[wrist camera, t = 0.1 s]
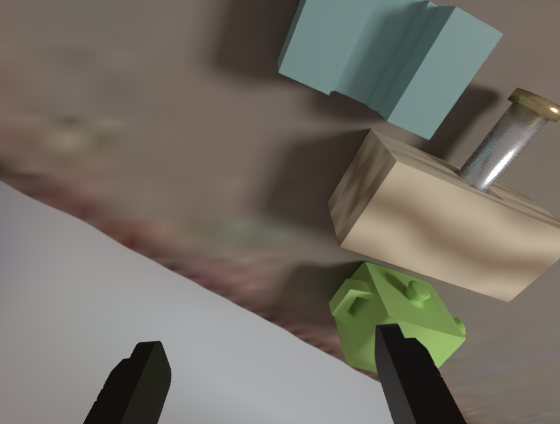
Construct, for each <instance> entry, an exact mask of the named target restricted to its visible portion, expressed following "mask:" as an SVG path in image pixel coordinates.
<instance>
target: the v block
mask: <svg viewBox="0 0 560 424" xmlns="http://www.w3.org/2000/svg"><path fill="white" fill-rule="evenodd" d="M502 35H503V33H501V32H499V31H497V30H496V29H494V28H492V27H491V26H489V25H487V24H485V23H484V22H482V21H480V20H478V19H477V18H475V17H473V16H472V15H470V14H468V13H466V12H465V11H463V10H461V9H460V8H458V7H456V6H438V5H436V4H434V3H432V2H431V1H423V0H300V2H299V5H298V7H297V10H296V13H295V15H294V18H293V20H292V23H291V26H290V28H289V31H288V34H287V36H286V39H285V42H284V44H283V47H282V50H281V52H280V55H279V58H278V60H277V63H278V73H281V74H283V75H285V76H287V77H289V78H292V79H294V80H296V81H298V82H301V83H303V84H305V85H307V86H310V87H312V88H314V89H316V90H318V91H321V92H323V93H325V94H327V95H329V94H330V92H331V91H334V90H335V91H337V92H339V93H341V94H344V95H346V96H348V97H350V98H352V99H355V100H357V101H359V102H361V103H363V104H366V105H367V106H368V107H369V108H370V109H373V110H375V111H377V112H378V113H379V114H380V115H381V116H382V117H383V118H384V119H385V120H386V121H388V122H390V123H392V124H394V125H397V126H399V127H401V128H403V129H406V130H408V131H410V132H412V133H414V134H417V135H419V136H421V137H423V138H426V139H428V140H430V138H431V137H432V136H433V134H434V133H435V131H436V130H437V128H438V127H439V126H440V124H441V123H442V121H443V120H444V118H445V117H446V116H447V114H448V113H449V111H450V110H451V108H452V107H453V106H454V104H455V103H456V101H457V100H458V98H459V97H460V96H461V94H462V93H463V91H464V90H465V88H466V87H467V86H468V84H469V83H470V81H471V80H472V78H473V77H474V76H475V74H476V73H477V71H478V70H479V68H480V67H481V66H482V64H483V63H484V61H485V60H486V58H487V57H488V55H489V54H490V53H491V51H492V50H493V48H494V47H495V45H496V44H497V43H498V41H499V40H500V38H501V37H502Z"/></svg>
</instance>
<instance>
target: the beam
mask: <svg viewBox="0 0 560 424" xmlns="http://www.w3.org/2000/svg"><path fill="white" fill-rule="evenodd" d="M460 169H461V168H460V167H458V166H456V165H454V164H451V163H449V162H447V161H444V160H442V159H440V158H438V157H435V156H433V155H431V154H428V153H426V152H424V151H421V150H419V149H417V148H415V147H412V146H410V145H408V144H405V143H403V142H401V141H399V140H396V139H394V138H392V137H389V136H387V135H385V134H382V133H380V132H378V131H376V130H373V129H370V131H369V133H368V134H367V136H366V138H365V140H364V141H363V143H362V145H361V146H360V148H359V150H358V152H357V153H356V155H355V157H354V158H353V160H352V162H351V164H350V165H349V167H348V169H347V170H346V172H345V174H344V176H343V177H342V179H341V181H340V182H339V184H338V186H337V188H336V189H335V191H334V193H333V194H332V196H331V198H330V200H329V201H328V207H329V211H330V214H331V218H332V221H333V225H334V228H335V232H336V236H337V239H338V243H339V246H340V247H341V248H344V249H347V250H351V251H354V252H357V253H360V254H363V255H366V256H369V257H372V258H375V259H378V260H381V261H384V262H387V263H390V264H393V265H396V266H399V267H402V268H406V269H409V270H412V271H415V272H418V273H421V274H424V275H427V276H430V277H433V278H436V279H439V280H442V281H445V282H448V283H451V284H454V285H457V286H461V287H464V288H467V289H470V290H473V291H476V292H479V293H482V294H485V295H488V296H491V297H494V298H497V299H500V300H503V301H506V302H509V301H511V300H512V299H513V298H514V297H515V296H516V295H518V294H519V293H520V292H521V291H522V290H523V289H525V288H526V287H527V286H528V285H529V284H530V283H532V282H533V281H534V280H535V279H536V278H538V277H539V276H540V275H541V274H542V273H543V272H545V271H546V270H547V269H548V268H549V267H550V266H552V265H553V264H554V263H555V262H556V261H557V260H559V259H560V221H559V220H558V219H556V218H555V217H554V216H552V215H551V214H550V213H548V212H547V211H546V210H544V209H543V208H542V207H540V206H539V205H538V204H536V203H535V202H534V201H532V200H531V199H530V198H528V197H527V196H525V195H522V194H520V193H518V192H516V191H513V190H511V189H509V188H506V187H504V186H502V185H500V184H497V183H494V184H493V185H492V186H491V187H490V188H489V189H488V190H487V192H486V193H484V192H481V191H479V190H477V189H474V188H472V187H470V186H468V185H467V184H466V183H465V182H464V181H463V180H462V179H461V178H460V177H459V176H458V175H457V172H458V171H459V170H460Z"/></svg>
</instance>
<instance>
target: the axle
mask: <svg viewBox="0 0 560 424" xmlns="http://www.w3.org/2000/svg"><path fill="white" fill-rule="evenodd" d="M507 100H509V101H510V102H512V104H511V106H510V107H509V108H508V109H507V111H506V112H505V113H504V114H503V116H502V117H501V118H500V119H499V121H498V122H497V123H496V124H495V126H494V127H493V128H492V129H491V131H490V132H489V133H488V135H487V136H486V137H485V138H484V140H483V141H482V142H481V143H480V145H479V146H478V147H477V148H476V150H475V151H474V152H473V153H472V155H471V156H470V157H469V158H468V160H467V161H466V162H465V164H464V165H463V166H462V167H461V169H460V170H459V171H458V172H457V175H458V176H459V177H460V178H461V179H462V180H463V181H464V182H465V183H466V184H467V185H468V186H470V187H472V188H474V189H477V190H479V191H481V192H484V193H486V192H487V190H488V189H489V188H490V187H491V186H492V185H493V184H494V183H495V181H496V180H497V179H498V178H499V177H500V176H501V175H502V173H503V172H504V171H505V170H506V169H507V168H508V167H509V165H510V164H511V163H512V162H513V161H514V160H515V159H516V158H517V156H518V155H519V154H520V153H521V152H522V151H523V150H524V148H525V147H526V146H527V145H528V144H529V143H530V142H531V140H532V139H533V138H534V137H535V136H536V135H537V134H538V132H539V131H540V130H541V129H542V128H543V127H544V126H545V125H546V123H547V122H548V121H549V120H550V121H553V122H557V121H558V120H559V119H560V106H559V105H557V104H555V103H553V102H551V101H549V100H547V99H545V98H543V97H540V96H538V95H536V94H533V93H531V92H529V91H526V90H523V89H520V88H516V89H515V90H514V91H513V93H512V94H511V95H510V97H509V98H508V99H507Z"/></svg>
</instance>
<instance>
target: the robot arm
mask: <svg viewBox="0 0 560 424" xmlns="http://www.w3.org/2000/svg"><path fill="white" fill-rule="evenodd" d="M374 355H375V364H376V369H377V372H378V376H379V379H380V382H381V385H382V388H383V391H384V394H385V397H386V400H387V403H388V407H389V410H390V413H391V416H392V419H393V422H394V424H467V423H466V422H465V420H464V418H463V416H462V414H461V412H460V410H459V408H458V407H457V405H456V403H455V401H454V399H453V397H452V395H451V393H450V391H449V389H448V387H447V386H446V384H445V382H444V380H443V378H442V377H441V374H440V372H439V370H438V368H437V366H435V363H434V361H433V359H432V357H431V355H430V353H429V351H428V349H427V348H426V347H425V346H424V345H423V344H422V343H421V342H420V341H418V340H417V339H416V338H415V337H414V338H405V337H404V335H403V333H402V331H401V328H400V326H399V325H398V324H397V323H392V324H379V325H376V328H375V352H374ZM170 383H171V368H170V365H169V362H168V359H167V357H166V354H165V351H164V348H163V345H162V343H161V342H160V341H151V342H139V343H138V344H137V345H136V347H135V348H134V350H133V353H132V354H131V357H130V358H128V359H123V360H122V361H121V362H120V363H119V364H118V365H117V366H116V367H115V368H114V369H113V370H112V371H111V373H110V375H109V377H108V378H107V380H106V382H105V384H104V386H103V389H101V391H100V393H99V395H98V397H97V401H95V402H94V404H93V406H92V408H91V410H90V412H89V414H88V415H87V417H86V419H85V421H84V423H83V424H157V423H158V420H159V417H160V414H161V411H162V408H163V405H164V402H165V399H166V396H167V393H168V390H169V387H170Z"/></svg>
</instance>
